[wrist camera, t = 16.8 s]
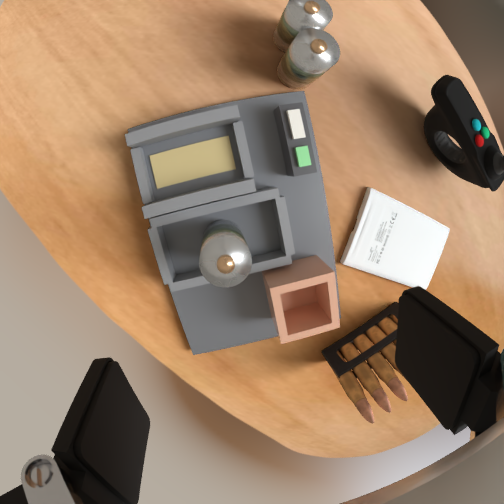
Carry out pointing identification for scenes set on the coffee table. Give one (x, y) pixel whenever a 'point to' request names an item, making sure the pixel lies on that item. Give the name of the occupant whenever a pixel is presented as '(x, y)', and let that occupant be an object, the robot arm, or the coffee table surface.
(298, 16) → the cell
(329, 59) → the cell
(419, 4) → the coffee table surface
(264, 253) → the board
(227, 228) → the cell
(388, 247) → the external hard drive
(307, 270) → the pink hollow box
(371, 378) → the ammunition clip
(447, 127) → the controller
